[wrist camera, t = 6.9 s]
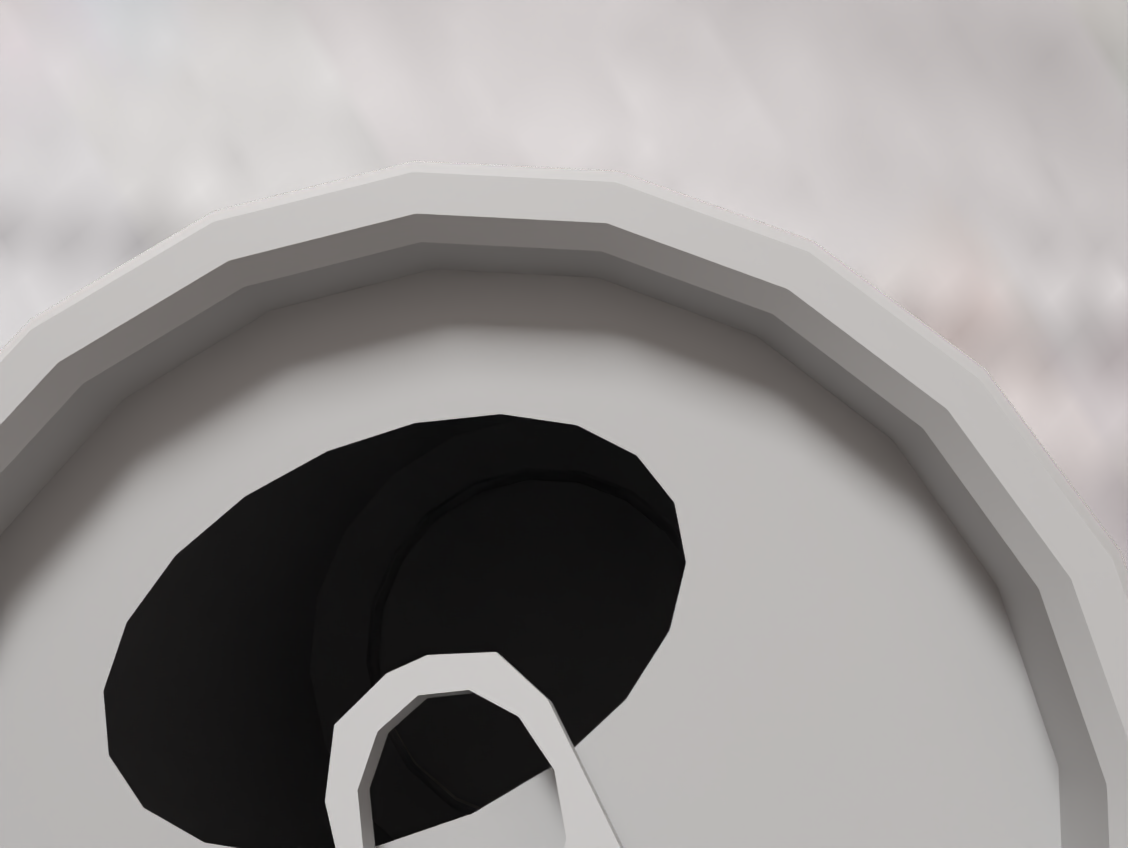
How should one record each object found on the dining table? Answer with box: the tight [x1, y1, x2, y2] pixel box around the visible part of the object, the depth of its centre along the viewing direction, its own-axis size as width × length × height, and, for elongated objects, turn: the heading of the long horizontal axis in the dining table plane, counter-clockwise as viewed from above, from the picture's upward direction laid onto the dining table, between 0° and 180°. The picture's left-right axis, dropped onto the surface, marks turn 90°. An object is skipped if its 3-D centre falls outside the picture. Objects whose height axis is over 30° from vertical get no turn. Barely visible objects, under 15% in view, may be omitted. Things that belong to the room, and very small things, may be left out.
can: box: [0, 161, 1128, 848], centre depth 9 cm, size 8×8×12 cm
